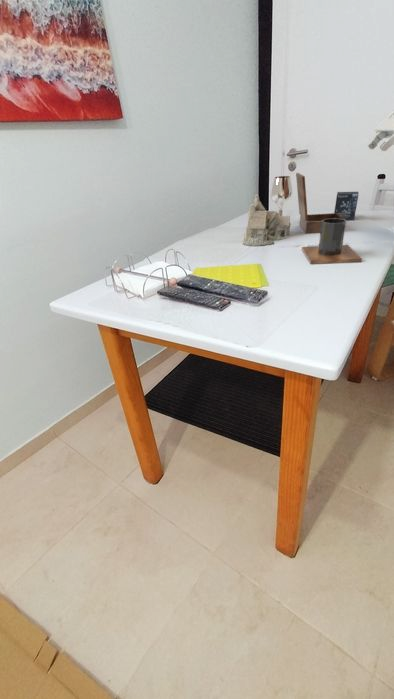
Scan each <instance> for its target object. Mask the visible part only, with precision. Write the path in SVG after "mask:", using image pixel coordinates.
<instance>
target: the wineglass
mask: <svg viewBox="0 0 394 699" xmlns="http://www.w3.org/2000/svg"><path fill="white" fill-rule="evenodd" d="M292 195H293V184H292V180H291V176H289V175H281V176H275V177H273V181H272V185H271V189H270V198H271V200H272V201H273V203H275V205H277V206H278V208H279V209H282V208H283V206H284V205H285V204H287V202H289V201H290V199H291V198H292ZM279 209H278V210H279Z"/></svg>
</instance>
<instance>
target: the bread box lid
mask: <svg viewBox="0 0 394 699" xmlns="http://www.w3.org/2000/svg"><path fill="white" fill-rule="evenodd" d="M295 177H296V190H297V191H296V192H297V199H298V201H297V203H298V214H299V216H300V215H301V216H302V217H303V219H304V220H305V221H308V215H309V214H308V205H307V204H308V202H307V201H308V200H307V190H306V177H305V176H304V175H303V174H301V173H299V172H296V173H295Z"/></svg>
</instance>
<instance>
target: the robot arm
mask: <svg viewBox="0 0 394 699" xmlns="http://www.w3.org/2000/svg"><path fill="white" fill-rule="evenodd" d="M374 131H375V133H376V134H375V135H374V137H373V138H372V140H371V141H370V142H369V143H368V144H367V148H368V149H369V150H374V149H376V147H378V144H379V143H380V142H381V141H382V140H384V139H387V140H386V141H383V142H382V144H380V145H379V149H380V150H381V152H387V151H388V150H389V149H390V148H391V147H392V146H394V110H392V111H391V112H390V113H389V114H388V115H387V116H386V117H384V118H383V120H382V121H381V122H380V123H379V124H377V126H376V127H375V129H374Z"/></svg>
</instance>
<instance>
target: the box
mask: <svg viewBox="0 0 394 699" xmlns="http://www.w3.org/2000/svg"><path fill="white" fill-rule="evenodd" d="M359 194H360V193H359V191H337V192H336V197H335V206H334V212H333V213H337V214H339V215H340V216H342V217H343V218H344V219H346V221H355V217H356V212H357V207H358V206H357V205H358V202H359V196H360V195H359Z"/></svg>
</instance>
